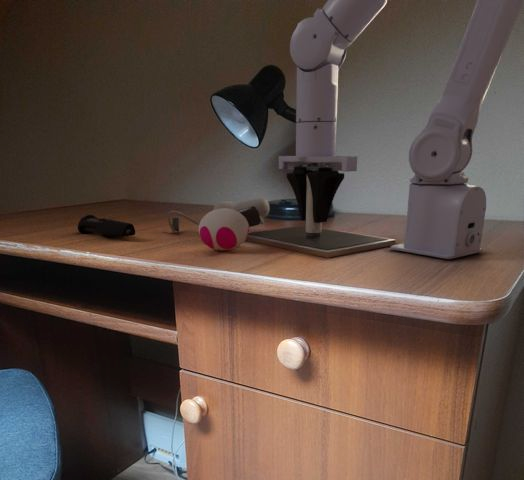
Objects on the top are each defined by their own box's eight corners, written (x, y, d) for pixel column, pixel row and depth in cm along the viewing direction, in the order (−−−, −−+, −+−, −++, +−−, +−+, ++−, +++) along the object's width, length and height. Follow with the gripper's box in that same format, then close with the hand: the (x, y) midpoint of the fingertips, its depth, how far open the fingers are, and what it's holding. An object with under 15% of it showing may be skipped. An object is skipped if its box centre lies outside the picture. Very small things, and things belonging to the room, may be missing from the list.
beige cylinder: (324, 236, 76) (326, 173, 72) (313, 237, 74) (314, 174, 71) (313, 234, 77) (315, 173, 74) (302, 235, 76) (303, 173, 73)
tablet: (395, 245, 73) (396, 238, 72) (327, 258, 65) (327, 251, 64) (304, 230, 87) (304, 224, 87) (239, 239, 79) (239, 233, 79)
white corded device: (161, 255, 83) (262, 234, 77) (148, 218, 80) (251, 193, 75) (186, 237, 93) (276, 217, 87) (175, 203, 90) (267, 180, 85)
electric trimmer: (121, 244, 78) (118, 223, 77) (76, 233, 88) (73, 214, 87) (141, 241, 80) (140, 221, 79) (95, 230, 90) (93, 212, 89)
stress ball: (197, 272, 72) (178, 239, 67) (218, 234, 76) (201, 199, 71) (243, 275, 69) (227, 240, 64) (262, 235, 73) (248, 198, 68)
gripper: (262, 124, 73) (263, 218, 78) (332, 119, 62) (328, 229, 67) (298, 125, 77) (297, 215, 82) (370, 120, 66) (363, 224, 71)
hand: (313, 221), depth 75 cm, fingers closed on beige cylinder, 2 cm apart
